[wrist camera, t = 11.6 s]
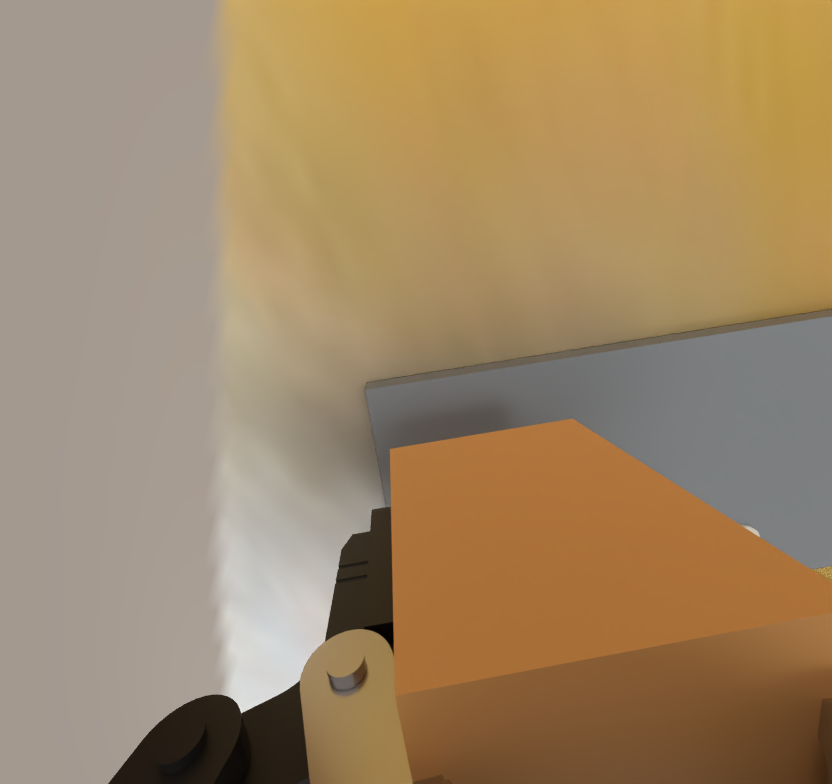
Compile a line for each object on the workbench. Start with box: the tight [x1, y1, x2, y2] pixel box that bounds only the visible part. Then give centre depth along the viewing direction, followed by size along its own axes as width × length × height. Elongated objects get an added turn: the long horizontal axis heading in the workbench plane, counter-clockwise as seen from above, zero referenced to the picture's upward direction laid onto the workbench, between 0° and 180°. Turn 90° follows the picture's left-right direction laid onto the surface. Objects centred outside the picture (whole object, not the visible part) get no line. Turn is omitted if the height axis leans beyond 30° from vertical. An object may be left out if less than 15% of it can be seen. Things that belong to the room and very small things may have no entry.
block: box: [390, 419, 832, 784], centre depth 7 cm, size 4×4×6 cm
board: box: [365, 309, 832, 569], centre depth 15 cm, size 22×10×1 cm, turn 98°
